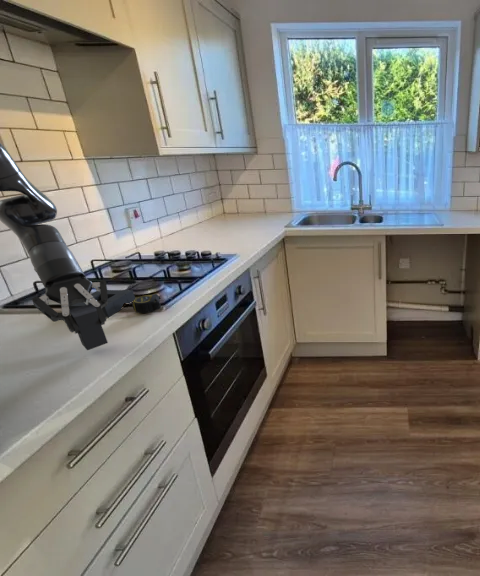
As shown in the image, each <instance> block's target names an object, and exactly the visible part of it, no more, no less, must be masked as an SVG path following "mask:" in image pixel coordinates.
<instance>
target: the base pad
mask: <svg viewBox="0 0 480 576" xmlns="http://www.w3.org/2000/svg"><path fill="white" fill-rule="evenodd" d="M90 294H91V295H92V296H93V297H94V299H95V300H96V301H98V302H99V301H100V300H101V294H100V292H99V291H93V292H92V293H90ZM107 296H108V305H107V306H106V307H103V308H102V310H103V312H104V314H105V315H106V318H110V317H112V316H113V315H115V314H116V313H118V312H120V311H122V309H121V308H122V306H123V304H124V303H130V302H132V301H133V300H134V299H136V296H135V293H134V290H133V289H107ZM85 305H86V304H85V303H84V302H82V303H76V304H74V305H71V306H69V310H71V309H74V308H78V307H81V306H85Z"/></svg>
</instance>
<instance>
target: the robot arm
mask: <svg viewBox="0 0 480 576" xmlns="http://www.w3.org/2000/svg"><path fill="white" fill-rule="evenodd" d="M0 192H18V193H21V195H16V196H12V197H11V196H10V197H8V198H3V199H0V222H1V223H2V224H3V225H4V226H6V227H7V228H8V229H9V230H10V231H12V233H14V235H15V236H16V237H17V238H18V239H19V240H20V242H21V243H22V245H23V247H24V249H25V250H26V253H27V254H28V256H29V259H30V263H31V265H32V267H33V270H34V272H35V273H36V275H37V276H38V278H39V280H40V282H41V284H42V285H43V287H44V289H45V292H44V294H42V295H41V296H35V297H32V299H31V300H32V304H33V306H34V307H35V308H36V309H37V310H38V311H39V312H40V313H42V314H43V315H44V316H46V317H47V318H48V319H49V320H51V321H52V322H59V321H63V322H64V323H65V325H66V327H67V329H68V330H69V332H71V333H75V334H78V333H80V331H79V328H78V326H77V324H76V322H75V320H74V319H73V317H72V315H70V313H69V306H71V305H74V304H76V303H82V302H84V303H85V304H86V305H88V304H91V305H92V306H93V307H95V308H96V310H97V311H96V312H97V315H98V317H99V320H100V323H101V325H102V326H105V324H106V322H107V317H106V315H105V314H104V312H103V310H102V308H103V307H106V306H107V305H108V296H107V290H108V286H107V285H108V284H107V280H105V279H102V280H100V281H97V282H96V281H95V282H92V280H90V279H89V278H87V276H86V274H85V273H84V271H83V270H82V267H81V266H80V263H79V262H78V260H77V258H76V257H75V255H74V254H73V252H72V250H71V249H70V248H69V247H68V244H66V242H65V240H64V238H63V236H62V234H61V233H60V231H59V229H58V228H56V227H55V226H53V225H50V224H46V223H48V222H50V221H53V220H54V219H56V217H57V215H58V209H57V206H56V205H55V203H54V202H53V201H52V200H51V199H50V197H48V196H47V195H46V194H45V193H43V192H42V191H41V190H40V189H39V188H37V186H35V185H34V184H33V183H32V182H31V181H30V180H29V179H28V178H27V177H26V175H25V174H24V173H23V172H22V170H21V169H20V167H19V165H18V164H17V162H16V161H15V160H14V158H13V157H12V155H11V154H10V152H9V151H8V150H7V148H5V146H4V145H3V144H2V143H1V142H0ZM44 223H45V224H44ZM93 288H94V289H95V290H96V291H99V292H100V294H101V300H100V301H99V302H98V301H96V300H95V299H94V297H93V296H92V295H91V294H92V293H91V292H92V290H93ZM96 291H95V292H96ZM49 300H50V301H52V302H55V303H57V304H59V305H60V307H61V312H57V311H56V310H55V309H53V307H51V306H50V305H49Z"/></svg>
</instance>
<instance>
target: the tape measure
mask: <svg viewBox="0 0 480 576" xmlns="http://www.w3.org/2000/svg"><path fill="white" fill-rule="evenodd" d="M131 305H132V309H133V311H134V312H135V313H137V314H148V313H151V312H154V311H158V310H160V309H161V295H159V294H157V293H153V294H147V295H142V296H141V295H140V296H138V297H135V299H134V300H133V303H131Z"/></svg>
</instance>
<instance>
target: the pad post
mask: <svg viewBox="0 0 480 576" xmlns="http://www.w3.org/2000/svg"><path fill="white" fill-rule="evenodd" d="M96 311H97V310H96V308H95V307H93V306H92V305H91V304H88V305H85V306H81V307H78V308H74V309H71V310H69V313H70V316H71V315H72V317H73V319H74V320H75V322H76V324H77V326H78V328H79V331H80V333H77V335H78V338H79V340H80V343H81V345H82V346H83V348H85V350H86V351H89V350H93V349H95V348H97V347H100V346H103V345H106V344H108V343H109V342H108V340H107V336H106V334H105V331H104V328H103V325H101V323H100V320H99V317H98V315H97V312H96Z"/></svg>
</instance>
